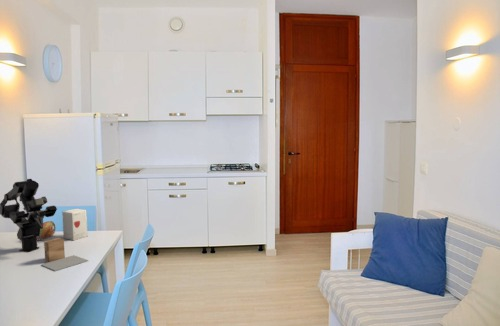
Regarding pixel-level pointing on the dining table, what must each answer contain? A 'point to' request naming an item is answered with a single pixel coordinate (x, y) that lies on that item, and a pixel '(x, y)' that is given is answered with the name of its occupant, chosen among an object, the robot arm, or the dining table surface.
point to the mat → (64, 263)
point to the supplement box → (74, 224)
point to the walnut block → (54, 249)
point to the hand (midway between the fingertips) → (42, 228)
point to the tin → (46, 230)
